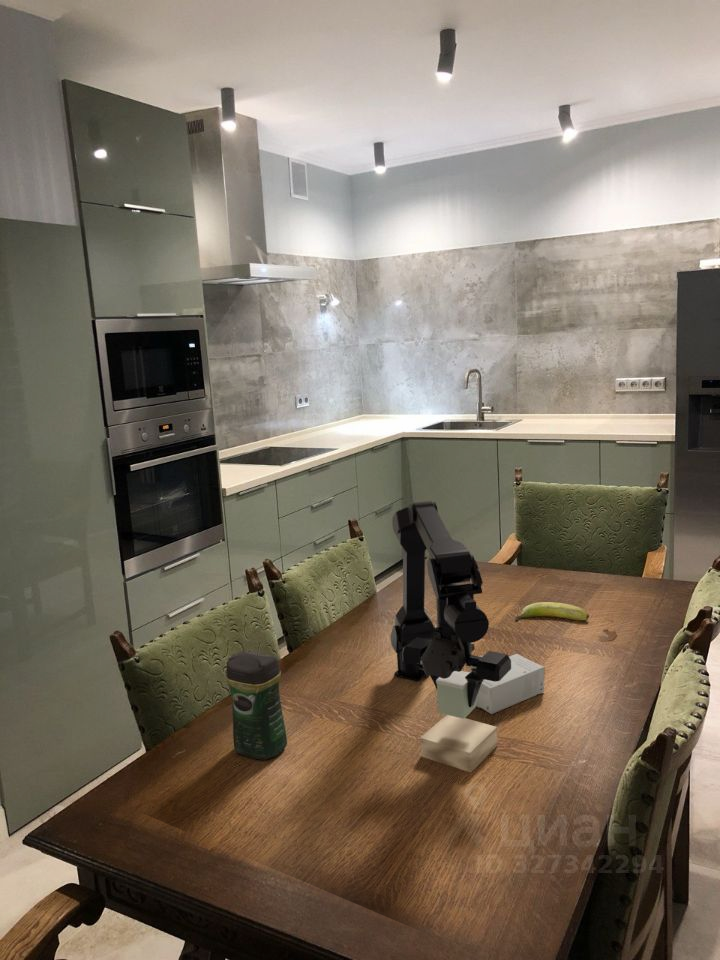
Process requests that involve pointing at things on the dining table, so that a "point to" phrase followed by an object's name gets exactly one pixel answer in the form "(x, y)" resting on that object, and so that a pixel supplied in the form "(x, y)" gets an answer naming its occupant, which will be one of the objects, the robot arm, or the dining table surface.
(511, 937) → the dining table surface
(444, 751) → the beech box
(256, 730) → the coffee jar
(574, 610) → the green-yellow banana
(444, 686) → the tea tin
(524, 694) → the skincare box
